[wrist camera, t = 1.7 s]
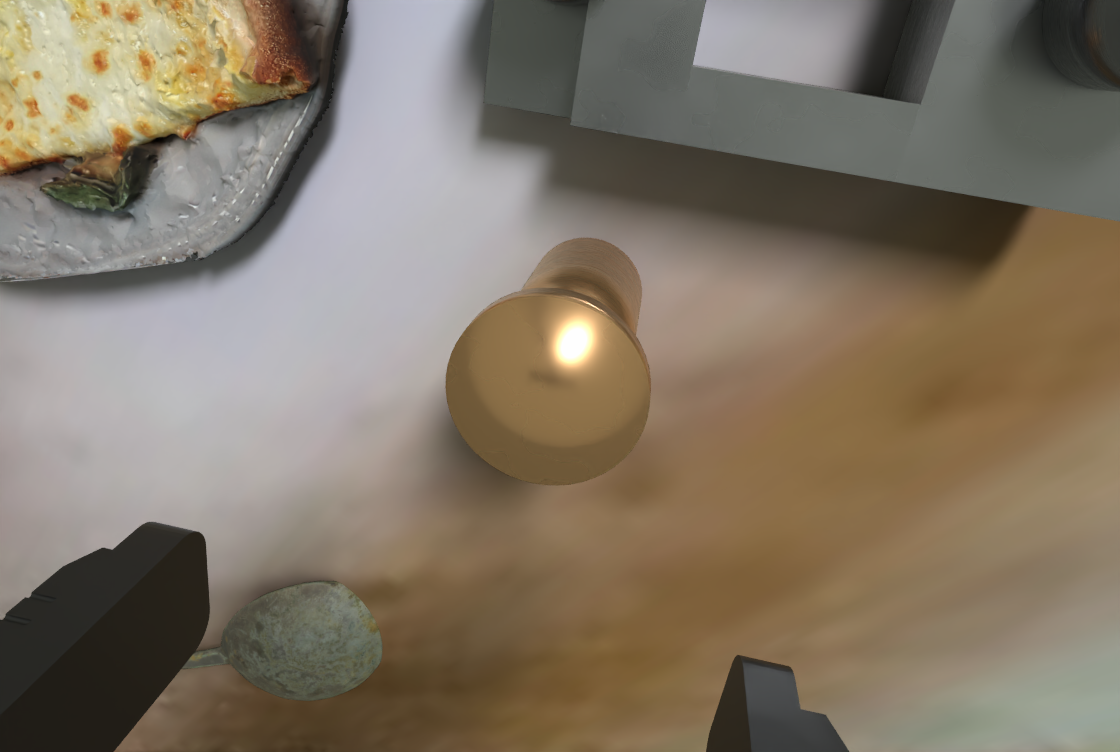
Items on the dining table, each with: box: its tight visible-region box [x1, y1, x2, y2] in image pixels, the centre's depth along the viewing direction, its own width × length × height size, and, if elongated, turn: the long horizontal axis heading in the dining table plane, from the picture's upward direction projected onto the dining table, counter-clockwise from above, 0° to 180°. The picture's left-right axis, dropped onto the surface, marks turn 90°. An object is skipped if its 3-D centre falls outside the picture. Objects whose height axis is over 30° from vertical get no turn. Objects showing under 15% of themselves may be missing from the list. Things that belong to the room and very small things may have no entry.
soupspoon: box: [181, 581, 382, 701], centre depth 36 cm, size 22×3×7 cm
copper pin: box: [446, 238, 651, 485], centre depth 23 cm, size 5×5×9 cm
